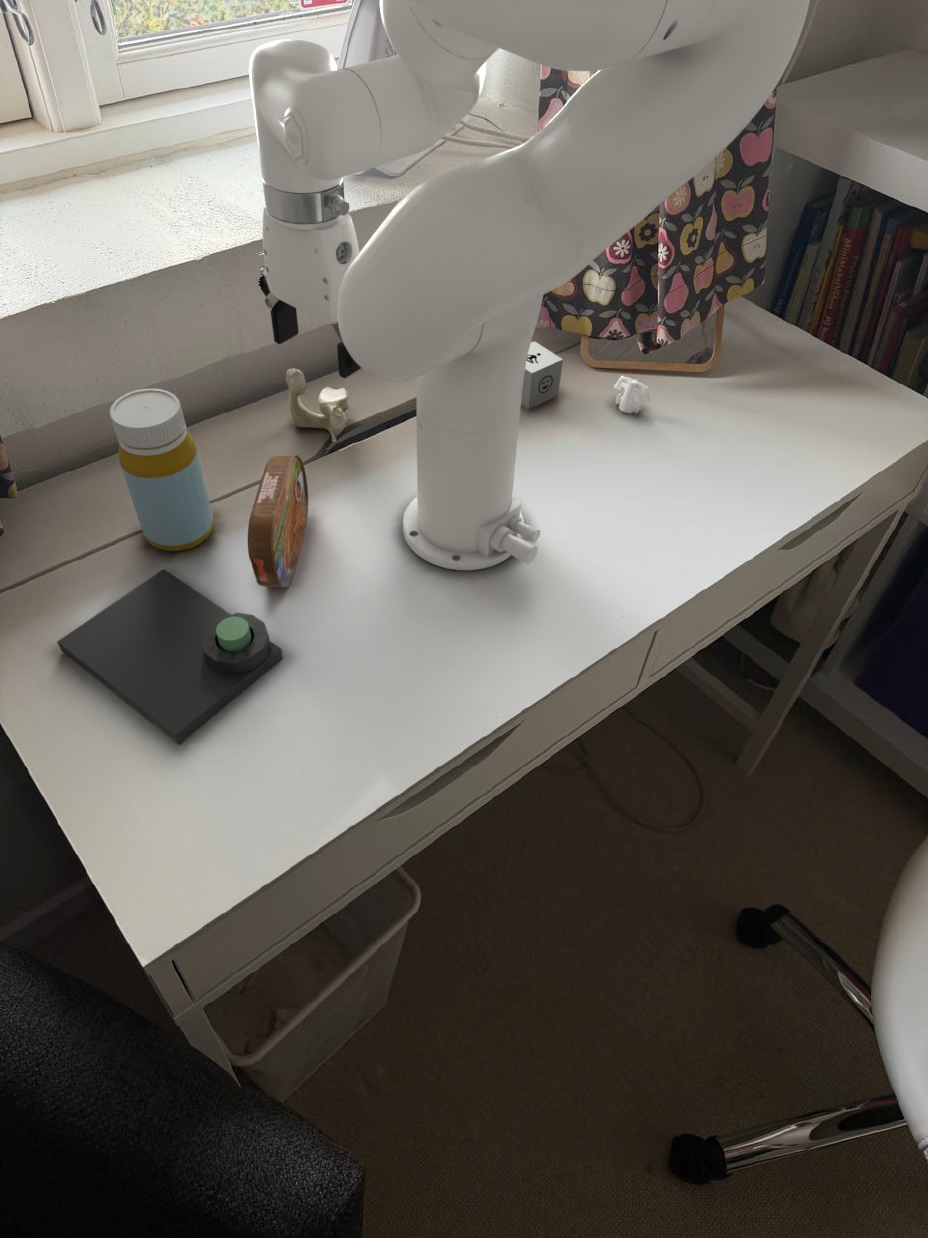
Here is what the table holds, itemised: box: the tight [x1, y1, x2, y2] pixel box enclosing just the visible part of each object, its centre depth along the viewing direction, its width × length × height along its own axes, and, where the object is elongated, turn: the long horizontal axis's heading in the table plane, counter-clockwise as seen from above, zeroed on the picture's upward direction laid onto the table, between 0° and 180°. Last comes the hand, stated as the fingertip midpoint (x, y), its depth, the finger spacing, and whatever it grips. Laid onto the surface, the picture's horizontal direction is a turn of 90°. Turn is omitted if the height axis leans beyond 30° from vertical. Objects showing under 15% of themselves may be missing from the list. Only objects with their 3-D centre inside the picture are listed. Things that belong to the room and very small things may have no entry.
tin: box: [247, 454, 309, 589], centre depth 86 cm, size 15×3×8 cm, turn 177°
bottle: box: [109, 388, 215, 552], centre depth 85 cm, size 7×7×15 cm
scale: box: [56, 568, 284, 745], centre depth 78 cm, size 16×12×3 cm
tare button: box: [216, 617, 251, 652], centre depth 77 cm, size 3×3×2 cm
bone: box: [285, 367, 350, 444], centre depth 100 cm, size 9×6×10 cm
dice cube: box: [521, 341, 564, 410], centre depth 107 cm, size 5×5×5 cm
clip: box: [613, 375, 651, 414], centre depth 106 cm, size 5×2×4 cm, turn 50°
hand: (318, 354), depth 96 cm, fingers open, 9 cm apart
